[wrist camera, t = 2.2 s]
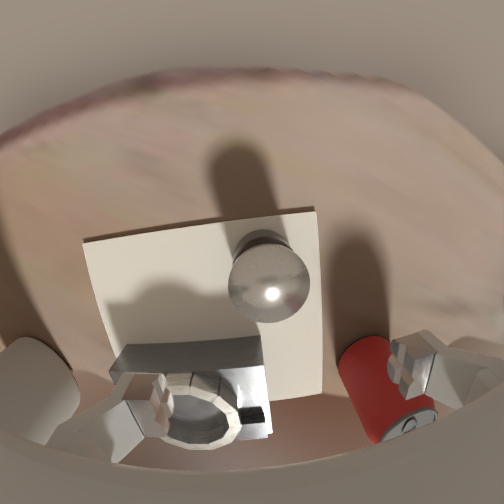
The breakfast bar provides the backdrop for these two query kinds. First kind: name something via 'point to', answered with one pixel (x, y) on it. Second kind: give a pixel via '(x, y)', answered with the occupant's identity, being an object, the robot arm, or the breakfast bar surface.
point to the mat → (208, 294)
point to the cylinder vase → (35, 390)
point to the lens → (267, 278)
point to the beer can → (380, 392)
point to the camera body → (207, 388)
